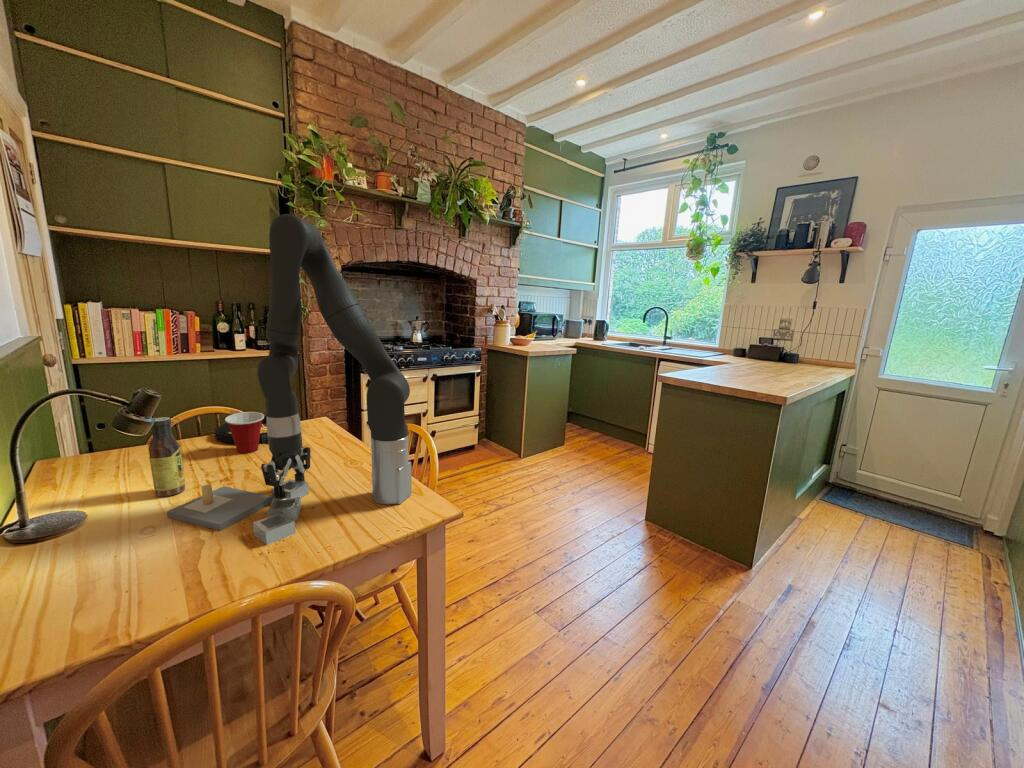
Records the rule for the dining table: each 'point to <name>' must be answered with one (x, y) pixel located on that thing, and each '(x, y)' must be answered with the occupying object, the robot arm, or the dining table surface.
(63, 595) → the dining table surface
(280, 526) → the slack link
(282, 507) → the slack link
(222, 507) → the keeper board
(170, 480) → the sauce bottle
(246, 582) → the dining table surface
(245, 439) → the plastic cup
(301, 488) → the grey square ring
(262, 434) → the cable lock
